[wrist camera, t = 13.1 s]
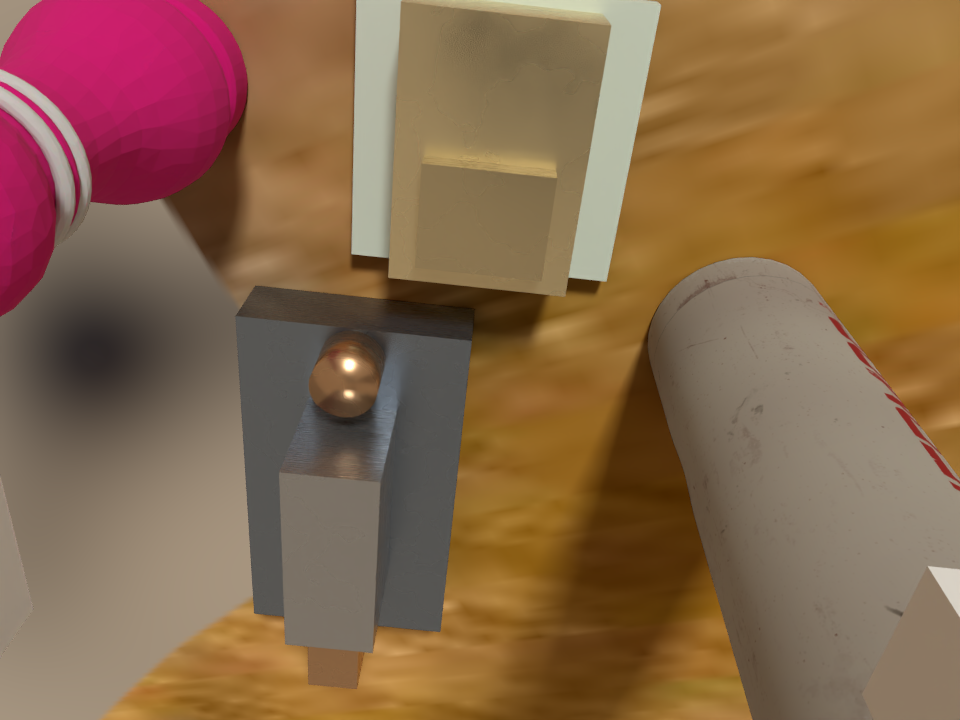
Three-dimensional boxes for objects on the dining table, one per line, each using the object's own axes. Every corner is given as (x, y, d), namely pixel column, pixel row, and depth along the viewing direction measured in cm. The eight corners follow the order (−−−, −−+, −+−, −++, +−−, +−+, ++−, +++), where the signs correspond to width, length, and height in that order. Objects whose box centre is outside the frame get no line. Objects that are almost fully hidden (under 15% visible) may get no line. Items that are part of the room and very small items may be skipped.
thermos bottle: (808, 231, 34) (1533, 1068, 10) (837, 381, 38) (1418, 1260, 13) (626, 289, 36) (861, 1126, 11) (671, 427, 39) (920, 1282, 15)
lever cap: (561, 266, 34) (566, 308, 31) (397, 248, 34) (384, 288, 30) (602, 13, 29) (614, 30, 26) (410, -9, 29) (396, 5, 25)
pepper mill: (136, -75, 29) (-418, -28, 12) (297, 67, 31) (30, 281, 14) (45, 76, 32) (-510, 293, 15) (198, 196, 34) (-125, 506, 17)
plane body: (444, 589, 45) (431, 714, 39) (269, 572, 45) (225, 694, 38) (474, 309, 36) (465, 406, 29) (255, 285, 36) (194, 378, 29)
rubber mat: (604, 272, 35) (606, 281, 34) (355, 245, 35) (351, 254, 34) (656, 1, 30) (661, 4, 29) (361, -33, 29) (357, -30, 29)
